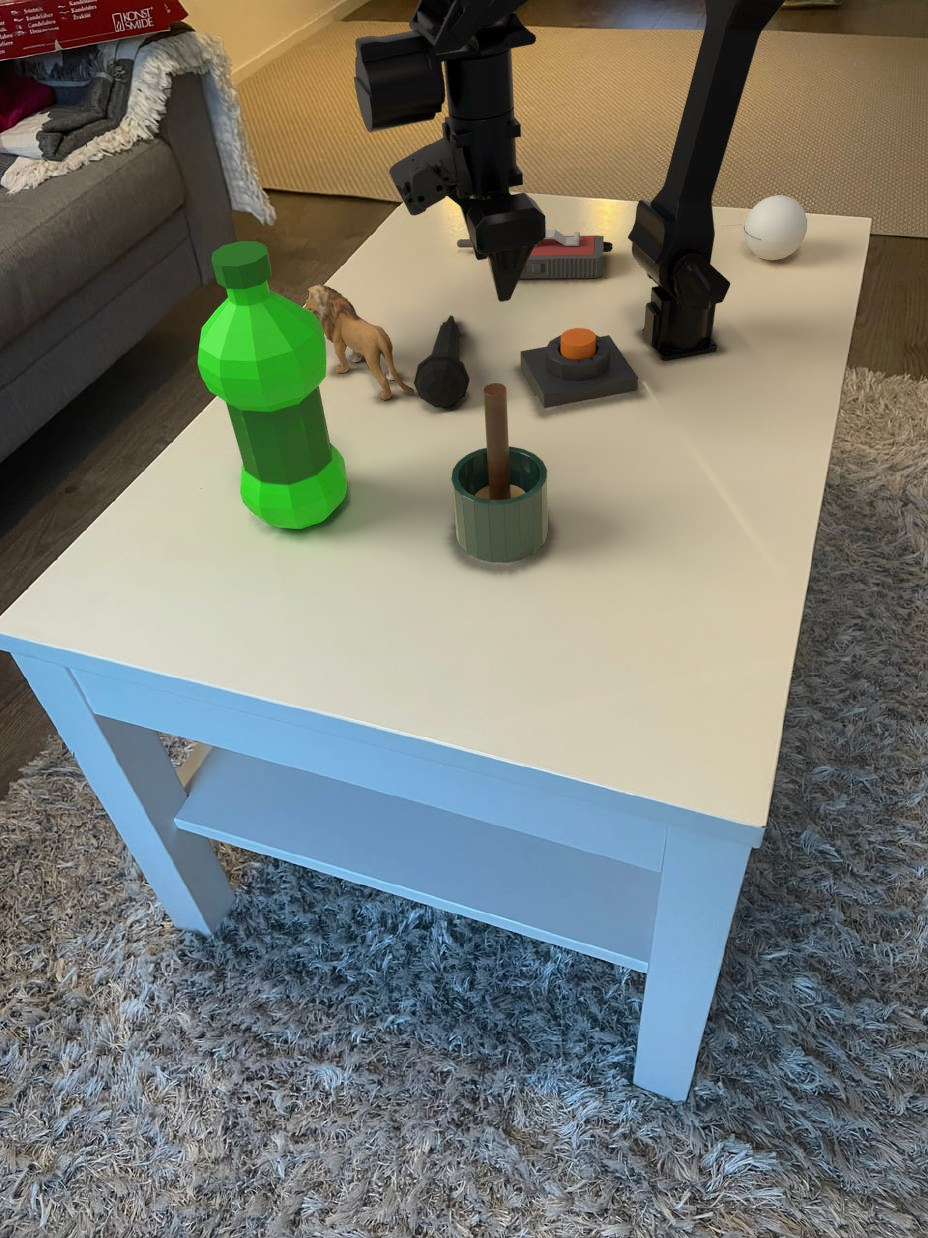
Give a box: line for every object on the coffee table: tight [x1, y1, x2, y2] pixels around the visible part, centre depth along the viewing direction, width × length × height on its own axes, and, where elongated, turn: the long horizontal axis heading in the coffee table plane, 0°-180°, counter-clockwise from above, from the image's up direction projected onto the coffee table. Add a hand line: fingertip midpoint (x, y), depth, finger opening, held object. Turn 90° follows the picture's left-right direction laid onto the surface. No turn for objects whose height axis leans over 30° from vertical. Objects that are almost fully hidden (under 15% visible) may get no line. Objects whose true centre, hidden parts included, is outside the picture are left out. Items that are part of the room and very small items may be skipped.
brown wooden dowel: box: [475, 382, 525, 500], centre depth 80 cm, size 5×5×14 cm
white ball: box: [720, 194, 808, 261], centre depth 117 cm, size 10×7×7 cm
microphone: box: [413, 315, 470, 408], centre depth 105 cm, size 6×6×20 cm
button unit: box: [519, 334, 639, 409], centre depth 101 cm, size 10×9×4 cm
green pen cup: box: [450, 445, 549, 564], centre depth 83 cm, size 8×8×7 cm
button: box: [560, 327, 597, 359], centre depth 99 cm, size 4×4×2 cm
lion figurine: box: [303, 284, 415, 401], centre depth 103 cm, size 15×5×9 cm, turn 50°
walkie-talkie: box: [456, 229, 614, 280], centre depth 120 cm, size 9×4×20 cm
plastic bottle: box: [197, 240, 348, 530], centre depth 81 cm, size 10×10×25 cm
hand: (492, 278), depth 94 cm, fingers open, 9 cm apart
